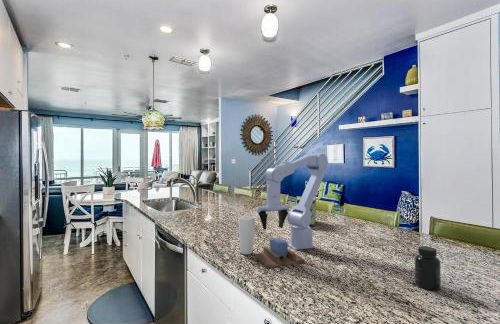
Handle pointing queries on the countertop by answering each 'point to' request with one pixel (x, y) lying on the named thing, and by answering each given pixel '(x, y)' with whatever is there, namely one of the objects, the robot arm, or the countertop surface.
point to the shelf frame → (277, 258)
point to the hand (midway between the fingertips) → (272, 228)
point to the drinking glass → (246, 234)
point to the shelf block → (279, 247)
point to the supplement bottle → (427, 269)
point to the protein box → (313, 211)
